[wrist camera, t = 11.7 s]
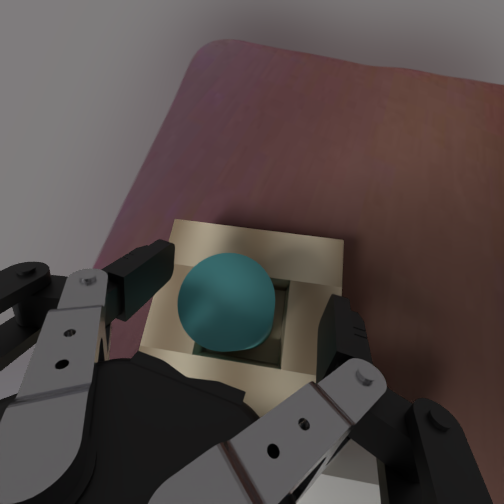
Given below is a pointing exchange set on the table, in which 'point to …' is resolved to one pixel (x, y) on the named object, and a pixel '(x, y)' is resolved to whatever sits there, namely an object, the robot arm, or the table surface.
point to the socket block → (285, 314)
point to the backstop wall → (346, 479)
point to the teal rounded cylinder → (227, 303)
